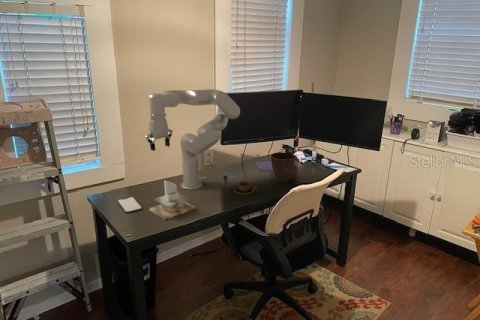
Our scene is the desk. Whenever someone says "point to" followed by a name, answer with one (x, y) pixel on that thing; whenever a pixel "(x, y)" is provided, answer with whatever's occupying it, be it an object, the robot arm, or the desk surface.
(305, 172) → the desk surface
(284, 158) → the plant pot
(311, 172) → the desk surface
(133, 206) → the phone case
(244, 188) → the place setting
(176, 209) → the stand
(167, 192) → the white wedge bracket
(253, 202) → the desk surface
